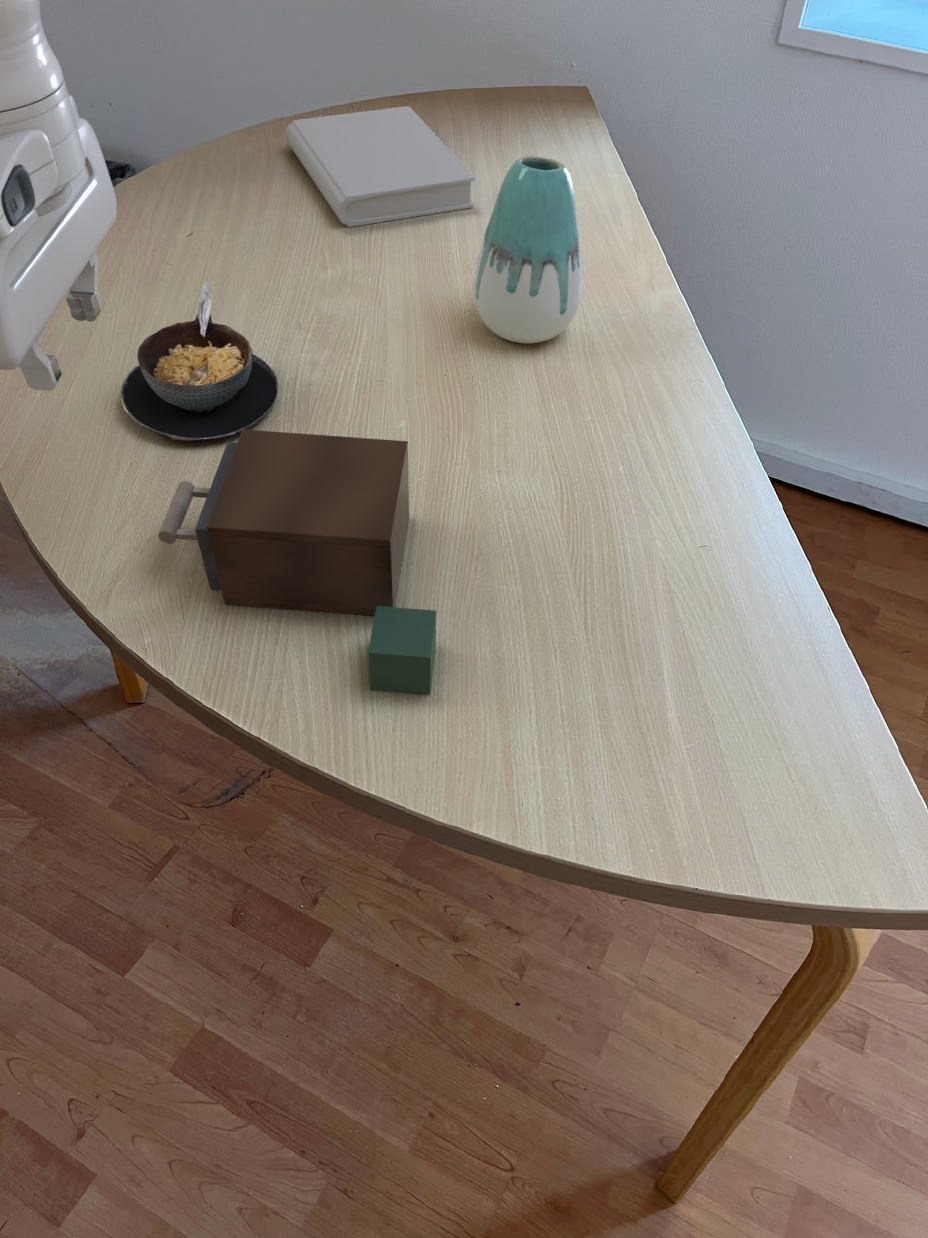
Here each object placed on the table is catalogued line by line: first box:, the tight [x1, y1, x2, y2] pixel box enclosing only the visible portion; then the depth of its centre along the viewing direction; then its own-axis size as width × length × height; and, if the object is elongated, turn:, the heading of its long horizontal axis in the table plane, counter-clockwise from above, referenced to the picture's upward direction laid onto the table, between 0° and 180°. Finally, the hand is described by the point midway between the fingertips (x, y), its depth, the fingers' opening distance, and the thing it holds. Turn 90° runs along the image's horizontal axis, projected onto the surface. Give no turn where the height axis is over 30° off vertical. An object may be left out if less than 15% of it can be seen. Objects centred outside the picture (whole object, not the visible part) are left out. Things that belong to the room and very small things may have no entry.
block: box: [367, 606, 437, 695], centre depth 69 cm, size 4×4×4 cm
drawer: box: [157, 441, 238, 592], centre depth 75 cm, size 17×10×7 cm, turn 86°
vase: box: [472, 155, 584, 344], centre depth 95 cm, size 12×12×18 cm
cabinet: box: [207, 429, 410, 617], centre depth 75 cm, size 14×12×9 cm
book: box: [285, 105, 476, 228], centre depth 123 cm, size 18×4×24 cm
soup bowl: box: [120, 281, 279, 441], centre depth 89 cm, size 15×16×7 cm
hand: (68, 348), depth 64 cm, fingers open, 7 cm apart
